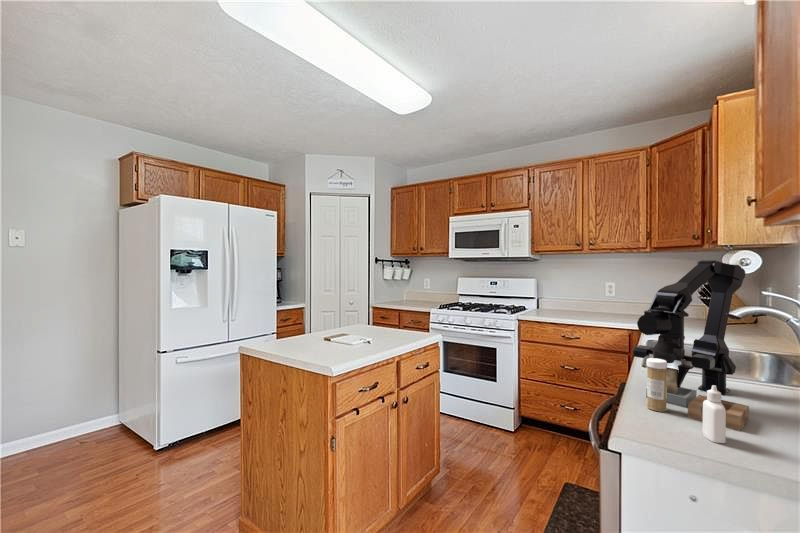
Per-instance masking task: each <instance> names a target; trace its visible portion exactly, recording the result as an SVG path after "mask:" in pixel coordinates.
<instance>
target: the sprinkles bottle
mask: <svg viewBox="0 0 800 533" xmlns="http://www.w3.org/2000/svg"><path fill="white" fill-rule="evenodd" d="M646 368H647V370H646V372H647V374H646V389H647V398H646V401H647V404H646V407H647V409H649V410H651V411H654V412H660V413H661V412H662V413H663V412H666V411H667V410H668V408H667V403H666V398H667V387H666V368H668V363H667V361H665V360H663V359H657V358H649V357H648V358H646Z"/></svg>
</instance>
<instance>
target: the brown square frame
mask: <svg viewBox="0 0 800 533" xmlns="http://www.w3.org/2000/svg"><path fill="white" fill-rule="evenodd" d="M704 400H707V395H701V394H698V395H696V398H695V399H694V400H692V401H691V402H690V403H689V404H688V407H687V418H689V419H693V420H695V421H696V420H697V421H700V422H703V401H704ZM721 403H722V404H723V406H724V407H725V411H726V429H729V430H733V431H737V432H740V431H742V430H743V428H744V426H745V425H746V424H747V423H748V421H749V418H750V414H749V413H750V406H749V405H745V404H743V403H736V402H733V401H728V400H725V399H721Z"/></svg>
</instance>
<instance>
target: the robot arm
mask: <svg viewBox="0 0 800 533" xmlns="http://www.w3.org/2000/svg"><path fill="white" fill-rule="evenodd" d="M745 277H746V270H745V269H744V268H743V267H742V266H741V265H740V264H731V263H725V262H722V261H717V260H715V259H713V260H708V259H707V260H706V259H705V260H699V261H697V262H696V265H695V266H694V267H693V268H692V269H690V270H689V271H688V272H687V273H685V274H684V276H682V277H681V278H680V279H679V280H678V281H677V282H675V283H672V284H668V285H665V286H663V287H661V288H660V289H658V290H657V292H656V293H655V296H654V297H653V299H652V301H651V303H650V305H649V307H648V308H647V310H644V311H643V314H642V315H641V316H639V318H638V319H637V322H636V324H637V328H638V331H640V333H642V334H643V335H645V336H654V335H655V336H656V335H658V338H657V342H656V344H655V345H654V346H649V345H643V344H639V345H637V346H635V347H633V348H632V356H633V357H636V358H640V359H645V358H646V357H648V358H657V359H663V360H665V361H667V364H674V362H675V361H677V362H678V361H679V362H680V363H679V365H677V370H678V379H677V387H678V388H680V387H682V384H683V382H684V380H685V377H686V376H687V374H688V372H689V371H690V370H692V369H694V368H695V369H701V385H699V386H698V387H697V390H701V391H704V392H707V391H708V390H711V388H712V385H715V386H716V388H717V391H719V392H720V393H721V395H724V396H725V395H727V394H728V393H729V392H730V391H731V389H730V388H727V375H730V376H732V375H734V374H735V372H736V368H737V366H736V365H735V363H734V362H733V360H732V359H731V358H730V349H729V347H728V346H727V343H726V342H725V338H726V336H725V335H726V331H727V326H728V320H729V315H730V310H731V304H732V299H733V295H734V294H735V292H737V291H738V290H739V289H740V288H741V287H742V285H743V283H744V282H743V281H744V279H745ZM706 282H707V284H708V286H709V287H710V289H711V295H710V299H709V305H708V310H707V316H706V321H705V325H704V330H703V334H702V336H701V337H700V338H699V339H697V338H695V339H694V340H693V346H692V348H691V355H687V354H685V352H686V351H685V339H686V338H685V318H687V317H689V316H690V315H689V313H688V312H687V311H685V310H686V309H687V308H688V307H689V305H690V304H691V303H692V302H693V294H694V293H695V292H697V291H698V290H699V289H700V288H701V287H702V286H703V285H704V284H705V283H706ZM726 313H727V315H726Z"/></svg>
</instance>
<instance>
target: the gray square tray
mask: <svg viewBox="0 0 800 533" xmlns="http://www.w3.org/2000/svg"><path fill="white" fill-rule="evenodd" d="M697 390H698V389H692V388H688V387H687V388H686V387H683V386H680V388H678V395H674V394H670V393H667V398H666V404H670V405H673V406H674V405H675V406H677V407H682V408H688V404H689V403H690V402H691V401H692V400H694V399H695V398H696V397H697V396H698V395H697V393H698V392H697ZM645 395H646V396H645V398H646V399H647V388H646V391H645Z"/></svg>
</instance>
